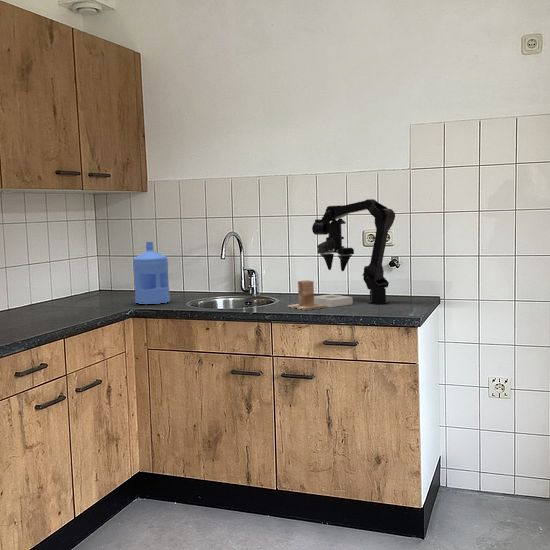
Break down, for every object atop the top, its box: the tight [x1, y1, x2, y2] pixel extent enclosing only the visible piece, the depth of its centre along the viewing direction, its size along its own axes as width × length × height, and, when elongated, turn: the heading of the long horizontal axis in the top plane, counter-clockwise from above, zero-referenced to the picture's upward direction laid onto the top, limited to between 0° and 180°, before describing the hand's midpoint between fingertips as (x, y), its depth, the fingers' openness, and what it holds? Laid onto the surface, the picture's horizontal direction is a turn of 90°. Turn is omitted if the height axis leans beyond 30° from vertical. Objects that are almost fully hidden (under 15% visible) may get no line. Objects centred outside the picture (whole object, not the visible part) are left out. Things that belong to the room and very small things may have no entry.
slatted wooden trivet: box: [287, 303, 327, 311], centre depth 272 cm, size 13×10×1 cm
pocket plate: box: [314, 293, 354, 308], centre depth 278 cm, size 14×11×3 cm
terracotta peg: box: [297, 280, 315, 307], centre depth 271 cm, size 4×4×10 cm
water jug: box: [132, 241, 171, 305], centre depth 302 cm, size 16×16×28 cm
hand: (336, 270), depth 288 cm, fingers open, 9 cm apart
